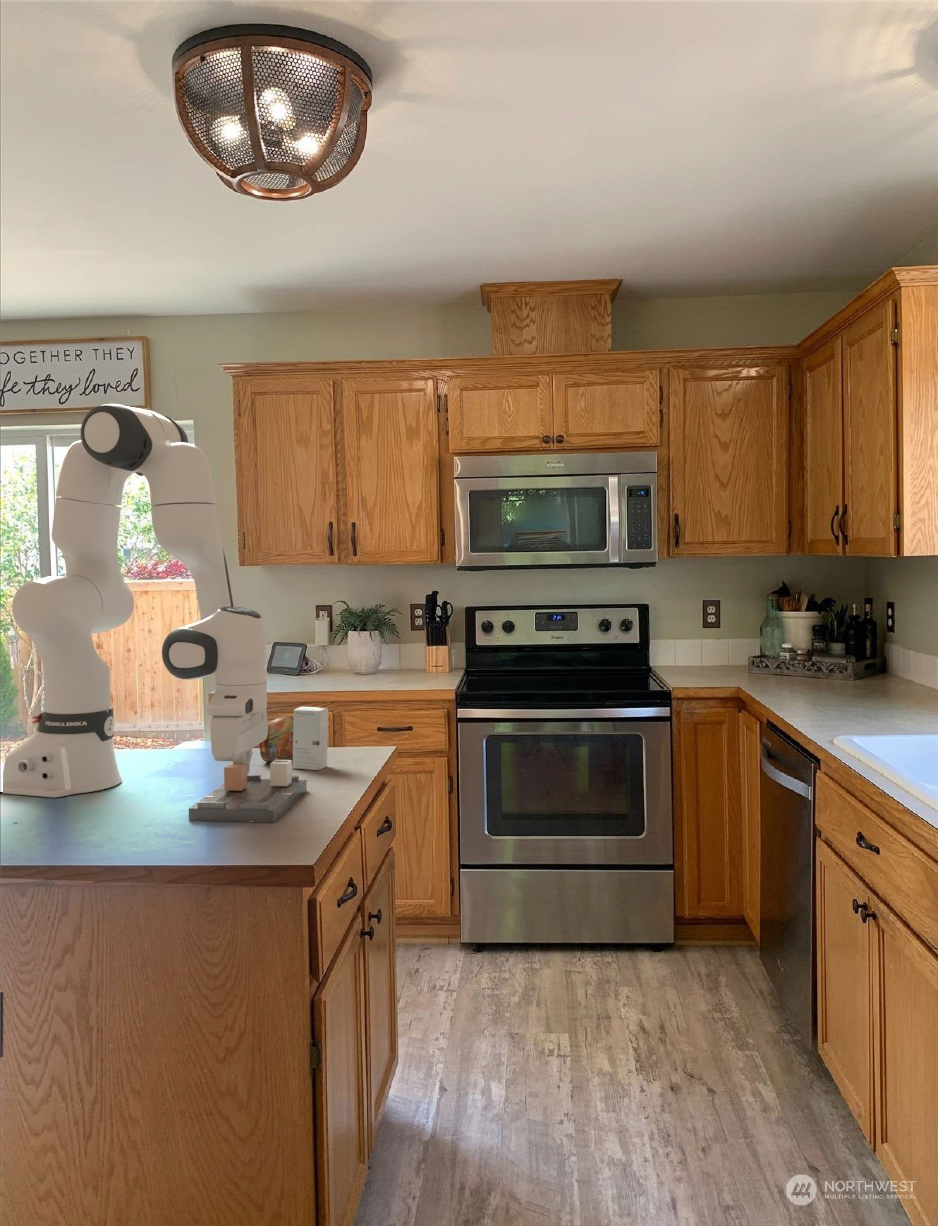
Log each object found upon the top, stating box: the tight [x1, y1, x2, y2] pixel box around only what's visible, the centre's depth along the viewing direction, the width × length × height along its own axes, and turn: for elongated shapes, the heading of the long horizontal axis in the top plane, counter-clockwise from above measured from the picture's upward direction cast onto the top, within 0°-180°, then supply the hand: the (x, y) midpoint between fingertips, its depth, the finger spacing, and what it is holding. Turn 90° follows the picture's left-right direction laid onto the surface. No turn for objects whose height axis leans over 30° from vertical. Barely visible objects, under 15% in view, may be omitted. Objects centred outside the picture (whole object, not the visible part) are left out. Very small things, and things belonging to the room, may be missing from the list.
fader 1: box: [223, 763, 248, 791], centre depth 156 cm, size 3×3×4 cm
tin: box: [259, 715, 294, 763], centre depth 190 cm, size 15×3×8 cm, turn 168°
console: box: [188, 774, 307, 824], centre depth 154 cm, size 14×20×3 cm
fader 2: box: [269, 759, 293, 786], centre depth 159 cm, size 3×3×4 cm
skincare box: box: [292, 706, 329, 771], centre depth 181 cm, size 6×4×12 cm
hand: (242, 775), depth 159 cm, fingers closed
